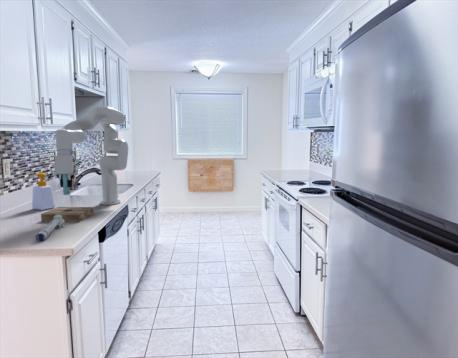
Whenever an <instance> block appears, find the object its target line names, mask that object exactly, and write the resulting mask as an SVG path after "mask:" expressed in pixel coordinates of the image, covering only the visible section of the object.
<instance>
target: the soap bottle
mask: <svg viewBox="0 0 458 358" xmlns="http://www.w3.org/2000/svg"><path fill="white" fill-rule="evenodd" d="M33 176H37V178H39V180H38V181H37V185H34V186H33V187H32V200H31V201H32V202H31V208H32V209H33V210H39V211H45V210H46V211H47V210H51V209H55V208H56V203H55V199H54V198H55V197H54V192H53V187H52V186H51V185H48V184H47V180H44V178H46V176H47V173H45V172H39V173H35V174H31V175H28V176H27V175H26V177H27V178H30V177H33Z"/></svg>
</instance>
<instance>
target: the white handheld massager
mask: <svg viewBox="0 0 458 358" xmlns="http://www.w3.org/2000/svg"><path fill="white" fill-rule="evenodd" d="M65 223H66V222H65V221H64V220H63V219H62V216H61V215H55V216H54V218H53V220H52V221H51V222H48V224H46V225H45V226H44V227H43V228H42V229H40V230H38V232H37V234H36V235H35V236H34V238H35V241H36V242H44V241H45V240H46V239H47V238H49V236H50V235H51V233H52V232H53V230H55V229H61V228H64V226H65Z"/></svg>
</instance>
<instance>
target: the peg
mask: <svg viewBox="0 0 458 358" xmlns="http://www.w3.org/2000/svg"><path fill="white" fill-rule="evenodd" d="M62 177H63V187H62V191H63V192H62V193H63V194H62V195H64V196H67V195H71V189H70V188H71V187H68V182H67V180H68V174H62Z"/></svg>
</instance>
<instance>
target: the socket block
mask: <svg viewBox="0 0 458 358" xmlns="http://www.w3.org/2000/svg"><path fill="white" fill-rule="evenodd" d="M94 213H95V212H94V206H93V207H92V206H57V207H54V208H51V209H49V210H48V211H47V210H46V211H45V212H42V213H40V220H41V222H43V223H44V222H47V223H50V222H51V221H52V220H53V218H54V216H55V215H61V216H62V219H63V220H64V221H65V222H64V223H80V222H82V221H84V220H86V219H88V218H89V217H91V216H93V215H94Z"/></svg>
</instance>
